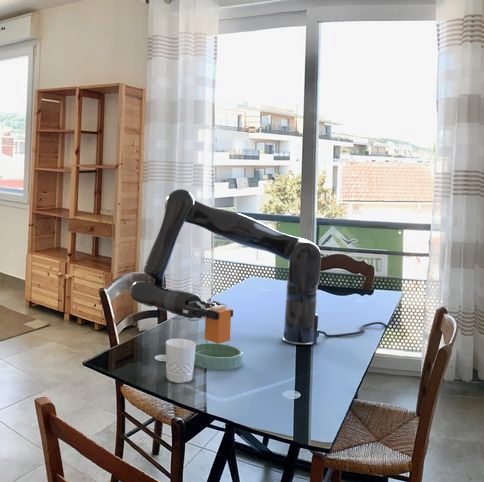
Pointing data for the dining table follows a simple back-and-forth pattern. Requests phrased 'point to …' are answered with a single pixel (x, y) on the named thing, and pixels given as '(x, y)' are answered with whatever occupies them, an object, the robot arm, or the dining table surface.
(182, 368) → the white cup
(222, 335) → the carton
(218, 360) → the bowl
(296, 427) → the dining table surface
